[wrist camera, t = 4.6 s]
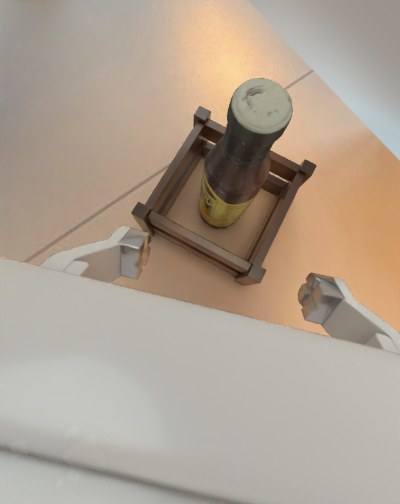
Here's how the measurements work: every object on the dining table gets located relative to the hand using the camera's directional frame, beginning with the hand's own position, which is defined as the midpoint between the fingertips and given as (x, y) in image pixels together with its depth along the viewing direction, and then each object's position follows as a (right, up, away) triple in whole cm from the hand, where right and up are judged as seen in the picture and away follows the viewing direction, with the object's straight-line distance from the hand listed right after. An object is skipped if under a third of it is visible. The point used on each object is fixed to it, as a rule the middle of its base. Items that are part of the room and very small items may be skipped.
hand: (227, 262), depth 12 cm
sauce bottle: (+1, +7, +22) cm, 23 cm away
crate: (+1, +7, +22) cm, 23 cm away
